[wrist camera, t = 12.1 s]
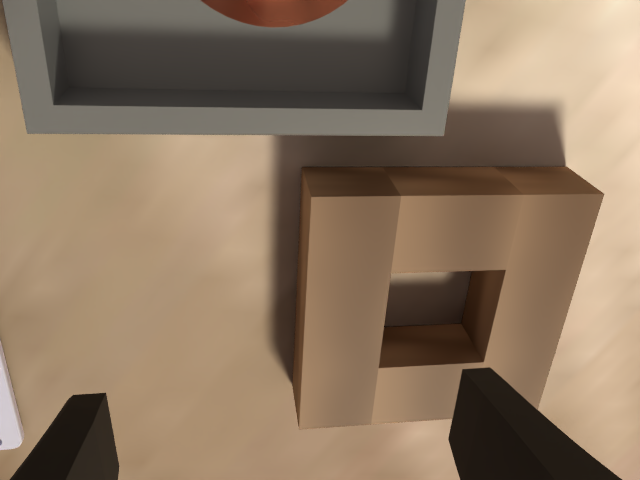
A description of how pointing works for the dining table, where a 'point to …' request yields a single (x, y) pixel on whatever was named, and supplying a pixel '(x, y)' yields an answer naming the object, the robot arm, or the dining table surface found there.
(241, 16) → the pin
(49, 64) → the tray
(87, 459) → the robot arm
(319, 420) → the pin block
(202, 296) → the dining table surface
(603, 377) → the dining table surface
